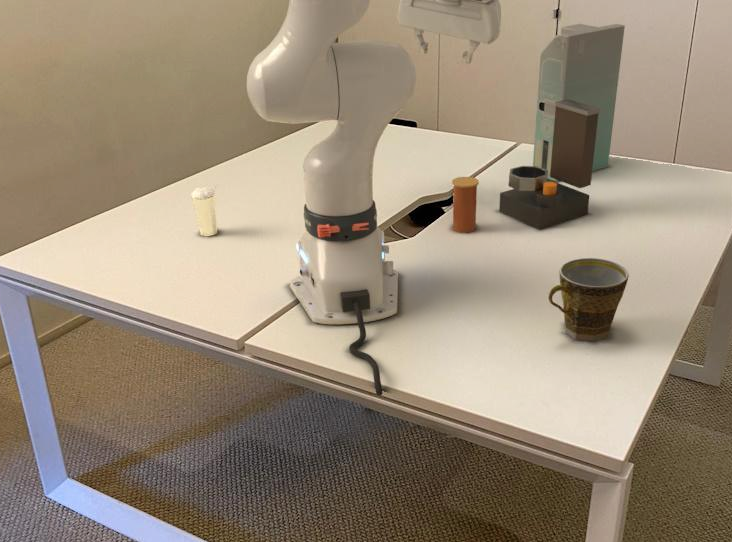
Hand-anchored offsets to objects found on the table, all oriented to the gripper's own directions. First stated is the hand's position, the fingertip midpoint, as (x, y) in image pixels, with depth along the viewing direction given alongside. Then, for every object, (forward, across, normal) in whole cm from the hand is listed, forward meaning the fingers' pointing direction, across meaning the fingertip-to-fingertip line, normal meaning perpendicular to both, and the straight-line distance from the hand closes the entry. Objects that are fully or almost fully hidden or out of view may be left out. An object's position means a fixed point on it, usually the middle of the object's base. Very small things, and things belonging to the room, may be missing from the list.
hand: (444, 57), depth 166 cm
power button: (+18, +28, -9) cm, 34 cm away
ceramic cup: (+19, +45, -51) cm, 70 cm away
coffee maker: (+18, +26, -5) cm, 32 cm away
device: (+26, +25, +22) cm, 43 cm away
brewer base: (+24, +26, -5) cm, 36 cm away
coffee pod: (+25, +14, -18) cm, 34 cm away
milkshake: (+30, -31, -39) cm, 58 cm away
